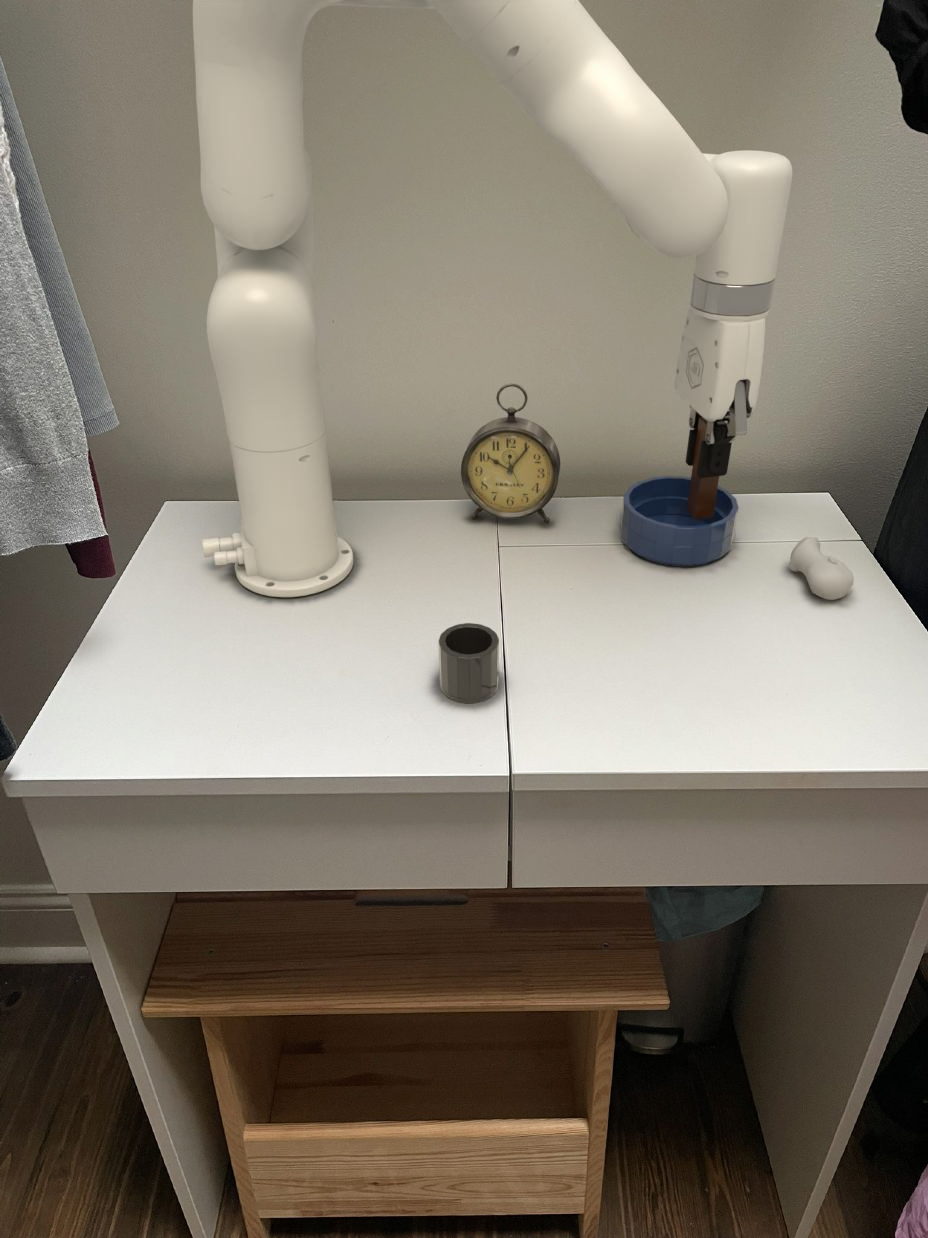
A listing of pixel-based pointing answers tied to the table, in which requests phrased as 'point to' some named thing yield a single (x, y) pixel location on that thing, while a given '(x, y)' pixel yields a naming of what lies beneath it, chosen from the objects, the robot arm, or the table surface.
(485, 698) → the crock
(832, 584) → the smooth white sculpture
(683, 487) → the bowl
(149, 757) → the table surface
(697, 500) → the stick
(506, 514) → the alarm clock
